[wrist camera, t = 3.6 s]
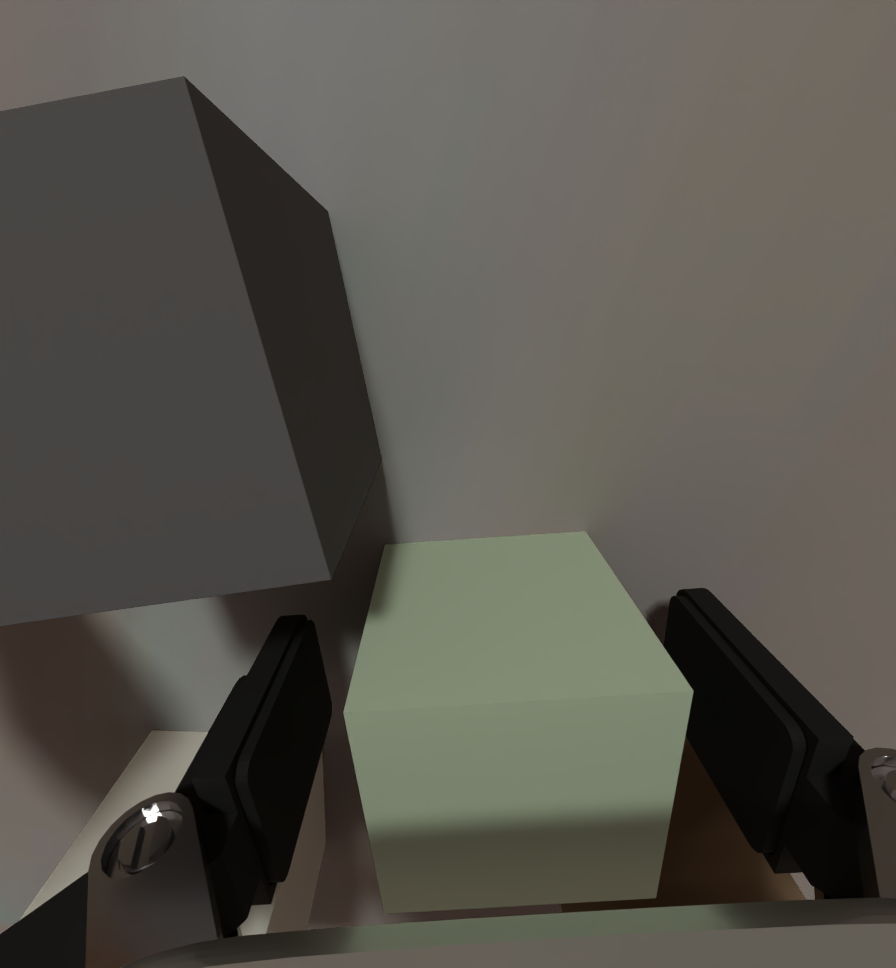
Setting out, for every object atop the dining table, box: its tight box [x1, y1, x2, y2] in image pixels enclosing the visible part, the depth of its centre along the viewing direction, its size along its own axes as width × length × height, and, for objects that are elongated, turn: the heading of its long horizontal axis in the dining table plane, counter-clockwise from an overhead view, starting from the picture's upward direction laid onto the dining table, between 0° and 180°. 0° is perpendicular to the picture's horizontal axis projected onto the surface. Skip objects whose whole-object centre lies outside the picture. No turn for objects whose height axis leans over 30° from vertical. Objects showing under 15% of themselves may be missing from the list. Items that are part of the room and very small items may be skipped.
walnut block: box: [561, 736, 806, 913], centre depth 12 cm, size 5×5×5 cm
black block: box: [0, 76, 382, 626], centre depth 7 cm, size 5×5×5 cm
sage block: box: [343, 531, 693, 914], centre depth 9 cm, size 5×5×5 cm
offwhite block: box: [19, 730, 326, 936], centre depth 12 cm, size 5×5×5 cm
